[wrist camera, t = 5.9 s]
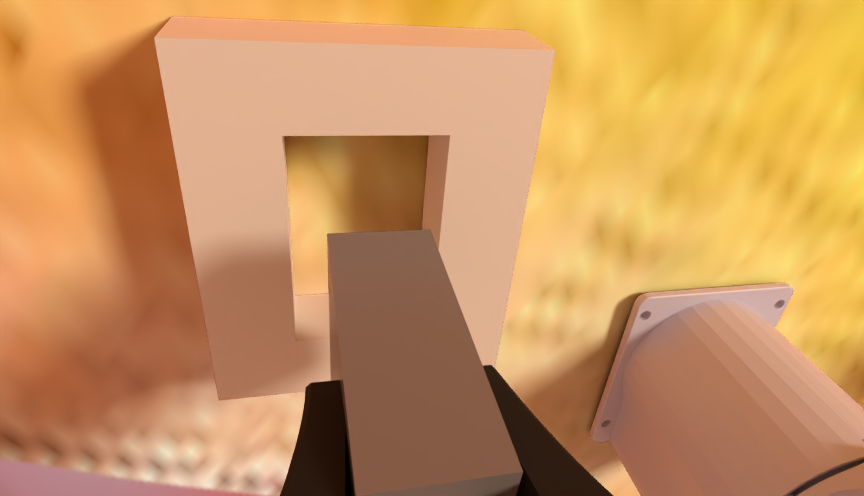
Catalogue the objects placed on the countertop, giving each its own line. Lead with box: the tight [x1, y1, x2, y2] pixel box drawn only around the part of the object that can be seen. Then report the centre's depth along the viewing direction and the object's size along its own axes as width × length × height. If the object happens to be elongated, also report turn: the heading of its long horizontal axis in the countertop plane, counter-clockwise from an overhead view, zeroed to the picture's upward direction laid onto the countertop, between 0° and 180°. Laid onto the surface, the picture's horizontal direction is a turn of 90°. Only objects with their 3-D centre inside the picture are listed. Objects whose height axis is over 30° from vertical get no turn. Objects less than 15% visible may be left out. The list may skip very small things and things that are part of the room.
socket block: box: [154, 16, 555, 400], centre depth 18 cm, size 12×10×2 cm
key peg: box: [327, 229, 523, 496], centre depth 13 cm, size 3×5×7 cm, turn 176°
